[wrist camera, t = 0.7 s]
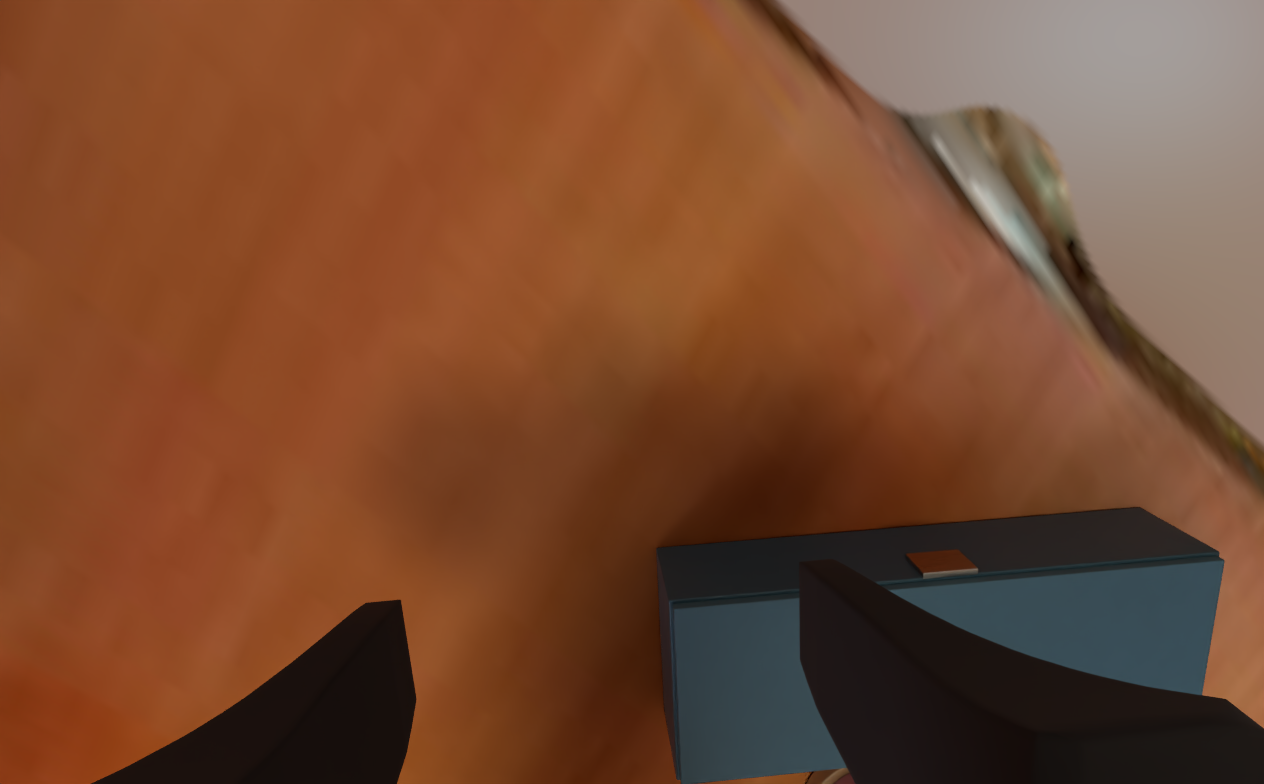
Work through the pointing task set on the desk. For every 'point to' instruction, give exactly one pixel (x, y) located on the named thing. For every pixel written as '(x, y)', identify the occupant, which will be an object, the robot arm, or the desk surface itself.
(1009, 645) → the pencil box
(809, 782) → the spool
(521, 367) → the desk surface
